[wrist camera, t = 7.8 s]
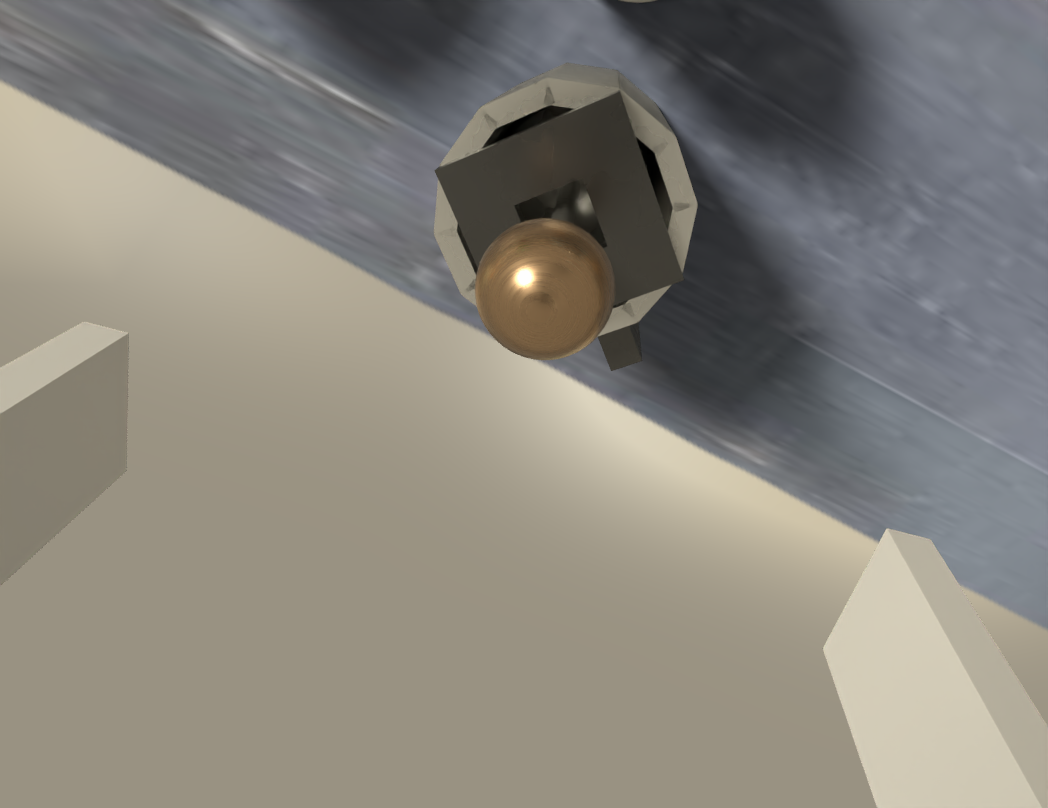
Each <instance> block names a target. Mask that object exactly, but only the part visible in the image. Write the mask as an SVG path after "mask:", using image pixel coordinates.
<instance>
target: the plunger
mask: <svg viewBox="0 0 1048 808" xmlns="http://www.w3.org/2000/svg"><path fill="white" fill-rule="evenodd" d="M570 110H573V108H566V107H559V106H553V107H550V108H547V109H544V110H542V111H540V112H538V113H536V114H534V115H533V116H531V117H530V118H528V119H527V120H526V121H524V122H523V123H522V124H521V125H520V126H519V127H518V128H517V129H516V130H515V131H514V133H513V134H512V135H514V134H516V133H519V132H521V131H523V130H526V129H528V128H530V127H533V126H535V125H537V124H540V123H542V122H544V121H547V120H549V119H551V118H554V117H556V116H558V115H561V114H563V113H565V112H568V111H570ZM512 135H511V136H512ZM637 142H638V141H637ZM638 145H639V148H640V151H641V154H642V156H643V159H644V162H645V165H646V168H647V171H648V167H647V163H646V160H645V156H644V153H643V151H642V149H641V146H640V144H639V143H638ZM519 206H520V208H521V210H522V213H523V215H524V218H525V220H526V221H524V222H521V223H518V224H516V225H514V226H512V227H510V228H509V229H507V230H506V231H504V232H503V233H502V234H500V235H499V236H498V237H497V238H496V239H495V240H494V241H493V242H492V244H491V245H490V246H489V247H488V249H487V250H486V252H485V253H484V255H483V257H482V259H481V261H480V264H479V267H478V270H477V274H476V280H475V298H476V304H477V308H478V312H479V315H480V317H481V319H482V321H483V323H484V325H485V327H486V328H487V330H488V331H489V332H490V334H491V335H492V336H493V337H494V338H495V339H496V340H497V341H498V342H499V343H500V344H501V345H502V346H504V347H505V348H507V349H508V350H510V351H511V352H513V353H515V354H517V355H521V356H523V357H526V358H530V359H536V360H553V359H560V358H563V357H567V356H569V355H572V354H574V353H577V352H578V351H580V350H582V349H584V348H585V347H586V346H588V345H589V344H590V343H591V342H592V341H593V340H594V339H595V338H596V337H597V336H598V335H599V334H600V332H601V331H602V330H603V329H604V327H605V325H606V324H607V322H608V320H609V318H610V315H611V313H612V309H613V305H614V301H615V293H616V287H615V277H614V272H613V269H612V265H611V262H610V260H609V258H608V256H607V254H606V252H605V251H604V249H603V247H602V246H601V245H600V244H599V243H600V242H603V241H605V238H604V235H603V233H602V230H601V227H600V224H599V222H598V219H597V216H596V214H595V211H594V208H593V206H592V203H591V200H590V198H589V195H588V192H587V190H586V187H585V184H584V182H583V179H582V178H581V179H578V180H576V181H573V182H571V183H568V184H566V185H564V186H561V187H559V188H556V189H554V190H551V191H549V192H546V193H544V194H541V195H539V196H536V197H534V198H531V199H529V200H526V201H524V202H521V203H519Z"/></svg>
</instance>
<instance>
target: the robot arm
mask: <svg viewBox="0 0 1048 808" xmlns="http://www.w3.org/2000/svg"><path fill="white" fill-rule="evenodd" d="M128 351H129V333H127V332H123V331H119V330H115V329H111V328H107V327H104V326H99V325H96V324H92V323H88V322H82V323H80V324H78V325H77V326H75V327H73V328H71V329H69V330H68V331H66V332H64V333H62V334H60V335H59V336H57V337H55V338H53V339H52V340H50V341H48V342H46V343H44V344H42V345H41V346H39V347H37V348H35V349H33V350H32V351H30V352H28V353H26V354H24V355H23V356H21V357H19V358H17V359H15V360H13V361H12V362H10V363H8V364H6V365H4V366H3V367H1V368H0V586H1V585H2V584H3V583H4V582H5V581H6V580H7V579H8V578H10V577H11V576H12V575H13V574H14V573H15V572H16V571H17V570H18V569H20V568H21V567H22V566H23V565H24V564H25V563H26V562H27V561H28V560H29V559H31V557H33V556H34V555H35V554H36V553H37V552H38V551H39V550H40V549H41V548H43V546H45V545H46V544H47V543H48V542H49V541H50V540H51V539H52V538H53V537H55V536H56V535H57V534H58V533H59V532H60V531H61V530H62V529H63V528H65V527H66V526H67V525H68V524H69V523H70V522H71V521H72V520H73V519H74V518H76V517H77V516H78V515H79V514H80V513H81V512H82V511H83V510H84V509H85V508H86V507H87V506H89V505H90V504H91V503H92V502H93V501H94V500H95V499H96V498H97V497H99V496H100V495H101V494H102V493H103V492H104V491H105V490H106V489H107V488H108V487H110V486H111V485H112V484H113V483H114V482H115V481H116V480H117V479H118V478H119V477H120V476H122V475H123V474H124V473H125V472H126V468H127V410H128V409H127V408H128ZM823 651H824V654H825V657H826V660H827V662H828V665H829V668H830V671H831V674H832V677H833V680H834V683H835V686H836V689H837V692H838V695H839V698H840V701H841V703H842V706H843V709H844V712H845V715H846V718H847V721H848V724H849V727H850V730H851V732H852V736H853V739H854V741H855V744H856V747H857V750H858V753H859V756H860V759H861V762H862V765H863V768H864V771H865V773H866V776H867V779H868V782H869V785H870V788H871V791H872V794H873V797H874V800H875V802H876V806H877V808H1048V726H1047V724H1046V722H1045V721H1044V719H1043V718H1042V716H1041V714H1040V713H1039V711H1038V710H1037V708H1036V706H1035V705H1034V703H1033V702H1032V700H1031V698H1030V697H1029V695H1028V694H1027V692H1026V691H1025V689H1024V688H1023V686H1022V684H1021V683H1020V681H1019V679H1018V678H1017V676H1016V675H1015V673H1014V671H1013V670H1012V668H1011V667H1010V665H1009V664H1008V662H1007V660H1006V659H1005V657H1004V656H1003V654H1002V652H1001V651H1000V649H999V648H998V646H997V645H996V643H995V641H994V640H993V638H992V637H991V635H990V633H989V632H988V630H987V628H986V627H985V625H984V624H983V622H982V621H981V619H980V617H979V616H978V614H977V613H976V611H975V609H974V608H973V606H972V605H971V603H970V602H969V600H968V598H967V597H966V595H965V594H964V592H963V590H962V589H961V587H960V585H959V584H958V582H957V581H956V579H955V578H954V576H953V574H952V573H951V571H950V570H949V568H948V566H947V565H946V563H945V562H944V560H943V558H942V557H941V555H940V554H939V552H938V550H937V549H936V547H935V546H934V544H933V543H932V541H931V539H927V538H923V537H919V536H915V535H912V534H908V533H904V532H900V531H896V530H892V529H888V528H887V529H886V531H885V533H884V534H883V536H882V538H881V540H880V542H879V544H878V546H877V548H876V550H875V551H874V553H873V555H872V557H871V559H870V561H869V563H868V565H867V567H866V568H865V570H864V572H863V574H862V576H861V578H860V580H859V582H858V583H857V585H856V587H855V589H854V591H853V593H852V595H851V597H850V598H849V600H848V602H847V604H846V606H845V608H844V610H843V612H842V614H841V616H840V617H839V619H838V621H837V623H836V625H835V627H834V629H833V631H832V633H831V634H830V636H829V638H828V640H827V642H826V644H825V645H824V648H823Z"/></svg>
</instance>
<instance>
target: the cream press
mask: <svg viewBox="0 0 1048 808" xmlns="http://www.w3.org/2000/svg"><path fill="white" fill-rule="evenodd" d="M620 1H624V2H631V3H644V2H652V1H656V0H620Z"/></svg>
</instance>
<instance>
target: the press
mask: <svg viewBox="0 0 1048 808" xmlns="http://www.w3.org/2000/svg"><path fill="white" fill-rule="evenodd" d="M553 106H559V107H566V108H573V110H570V111H568V112H565V113H563V114H561V115H558V116H556V117H554V118H551V119H549V120H547V121H544V122H542V123H540V124H537V125H535V126H533V127H530V128H528V129H526V130H523V131H521V132H519V133H516V134H514V135H512V134H513V133H514V131H515V130H516V129H517V128H518V127H519V126H520V125H521V124H522V123H523V122H524V121H526V120H527V119H528V118H530V117H531V116H533V115H534V114H536V113H538V112H540V111H542V110H544V109H547V108H550V107H553ZM511 135H512V136H511ZM637 141H638V142H637ZM638 143H639V144H640V146H641V149H642V151H643V153H644V156H645V160H646V163H647V167H648V171H647V168H646V165H645V162H644V159H643V156H642V154H641V151H640V148H639V145H638ZM435 173H436V175H437V177H438V189H437V202H436V214H435V226H434V236H435V238H436V240H437V242H438V245H439V247H440V249H441V251H442V253H443V256H444V258H445V260H446V262H447V264H448V266H449V269H450V271H451V273H452V275H453V277H454V280H455V282H456V284H457V286H458V288H459V291H460V293H461V294H462V296H464V297H465V298H466V299H468V300H469V301H470V302H472V303H473V304H474V305H476V306H477V304H476V298H475V280H476V274H477V270H478V267H479V264H480V261H481V259H482V257H483V255H484V253H485V252H486V250H487V249H488V247H489V246H490V245H491V244H492V242H493V241H494V240H495V239H496V238H497V237H498V236H499V235H500V234H502V233H503V232H504V231H506V230H507V229H509V228H510V227H512V226H514V225H516V224H518V223H521V222H524V221H526V220H525V218H524V215H523V213H522V210H521V208H520V206H519V203H521V202H524V201H526V200H529V199H531V198H534V197H536V196H539V195H541V194H544V193H546V192H549V191H551V190H554V189H556V188H559V187H561V186H564V185H566V184H568V183H571V182H573V181H576V180H578V179H581V178H582V179H583V182H584V184H585V187H586V190H587V192H588V195H589V198H590V200H591V203H592V206H593V208H594V211H595V214H596V216H597V219H598V222H599V224H600V227H601V230H602V233H603V235H604V238H605V241H603V242H600V243H599V244H600V245H601V246H602V247H603V249H604V251H605V252H606V254H607V256H608V258H609V260H610V262H611V265H612V269H613V272H614V277H615V287H616V293H615V301H614V305H613V309H612V313H611V315H610V318H609V320H608V322H607V324H606V325H605V327H604V329H603V330H602V331H601V332H600V334H599V335H598V336H597V337H598V339H599V341H600V344H601V346H602V349H603V351H604V354H605V356H606V359H607V361H608V364H609V366H610V369H611V371H613V370H616V369H619V368H622V367H625V366H628V365H631V364H634V363H637V362H640V361H642V354H641V344H640V333H639V321H640V320H641V318H642V317H643V316H644V315H645V314H646V313H647V312H648V311H649V310H650V308H651V307H652V306H653V305H654V304H655V303H656V302H657V301H658V300H659V298H660V297H661V296H662V295H663V294H664V293H665V292H666V291H667V290H668V288H669V287H670V286H671V285H672V284H675V283H678V282H680V281H683V280H684V277H683V274H682V272H683V269H684V265H685V260H686V256H687V251H688V247H689V243H690V238H691V234H692V229H693V225H694V220H695V216H696V211H697V207H698V205H697V204H698V203H697V200H696V197H695V194H694V191H693V188H692V185H691V182H690V179H689V176H688V172H687V169H686V166H685V163H684V160H683V157H682V154H681V151H680V148H679V145H678V141H677V138H676V136H675V134H674V133H673V131H672V129H671V128H670V126H669V124H668V123H667V121H666V119H665V118H664V116H663V115H662V113H661V111H660V110H659V108H658V106H657V105H656V103H655V102H654V101H653V100H651V99H650V98H649V97H648V96H647V95H646V94H644V93H643V92H642V91H641V90H640V89H639V88H637V87H636V86H635V85H634V84H633V83H632V82H630V81H629V80H628V79H627V78H626V77H625V76H624V75H622V74H621V73H620V72H619V71H618V70H614V69H607V68H600V67H593V66H586V65H580V64H573V63H565V64H563V65H560V66H558V67H556V68H554V69H551V70H549V71H547V72H545V73H542V74H540V75H538V76H536V77H533V78H531V79H529V80H527V81H524V82H522V83H520V84H518V85H517V86H515V87H513V88H512V89H510V90H508V91H507V92H505V93H503V94H502V95H500V96H498V97H496V98H495V99H493V100H491V101H490V102H488V103H486V104H485V105H483V106H481V107H480V108H479V109H478V111H477V112H476V114H475V115H474V117H473V118H472V120H471V121H470V122H469V124H468V125H467V127H466V128H465V130H464V131H463V132H462V134H461V135H460V137H459V138H458V140H457V141H456V143H455V144H454V145H453V147H452V148H451V150H450V151H449V153H448V154H447V155H446V157H445V158H444V160H443V161H442V163H441V164H440V166H439V167H438V168H437V169H436V170H435Z"/></svg>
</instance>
